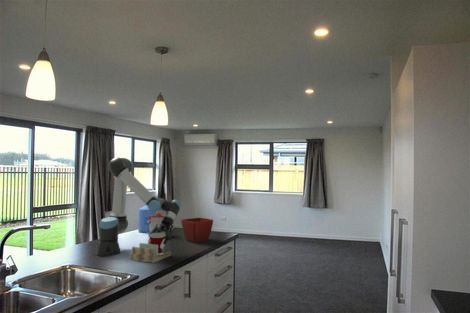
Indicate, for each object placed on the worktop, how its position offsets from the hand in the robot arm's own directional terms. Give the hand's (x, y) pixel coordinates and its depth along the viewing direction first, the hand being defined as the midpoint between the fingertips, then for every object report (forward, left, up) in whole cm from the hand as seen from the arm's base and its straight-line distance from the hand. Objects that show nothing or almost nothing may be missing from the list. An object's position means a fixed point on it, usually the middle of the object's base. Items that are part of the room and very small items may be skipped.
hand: (154, 247), depth 222 cm
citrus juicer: (-43, +63, -7) cm, 76 cm away
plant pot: (-2, +59, -7) cm, 59 cm away
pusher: (-2, -4, -5) cm, 7 cm away
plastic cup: (0, +3, -4) cm, 5 cm away
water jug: (-64, +77, -7) cm, 100 cm away
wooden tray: (-2, -1, -6) cm, 7 cm away
